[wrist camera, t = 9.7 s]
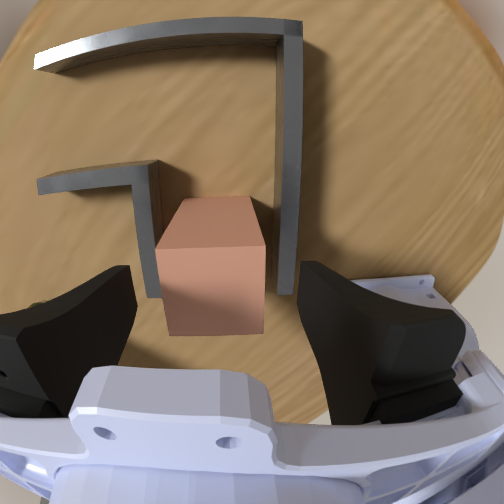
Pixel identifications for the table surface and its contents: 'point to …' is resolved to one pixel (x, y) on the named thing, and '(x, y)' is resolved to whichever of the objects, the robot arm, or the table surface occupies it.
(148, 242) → the channel rails
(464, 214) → the table surface
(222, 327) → the terracotta block
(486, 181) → the table surface
